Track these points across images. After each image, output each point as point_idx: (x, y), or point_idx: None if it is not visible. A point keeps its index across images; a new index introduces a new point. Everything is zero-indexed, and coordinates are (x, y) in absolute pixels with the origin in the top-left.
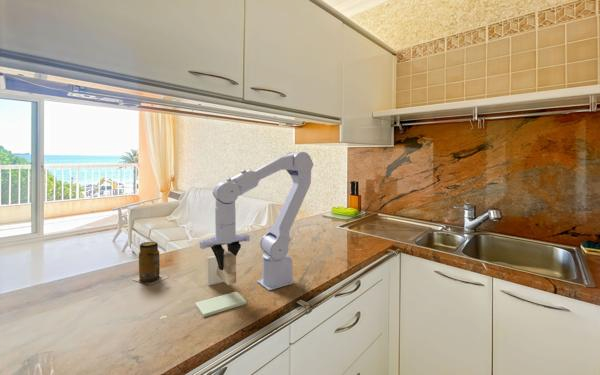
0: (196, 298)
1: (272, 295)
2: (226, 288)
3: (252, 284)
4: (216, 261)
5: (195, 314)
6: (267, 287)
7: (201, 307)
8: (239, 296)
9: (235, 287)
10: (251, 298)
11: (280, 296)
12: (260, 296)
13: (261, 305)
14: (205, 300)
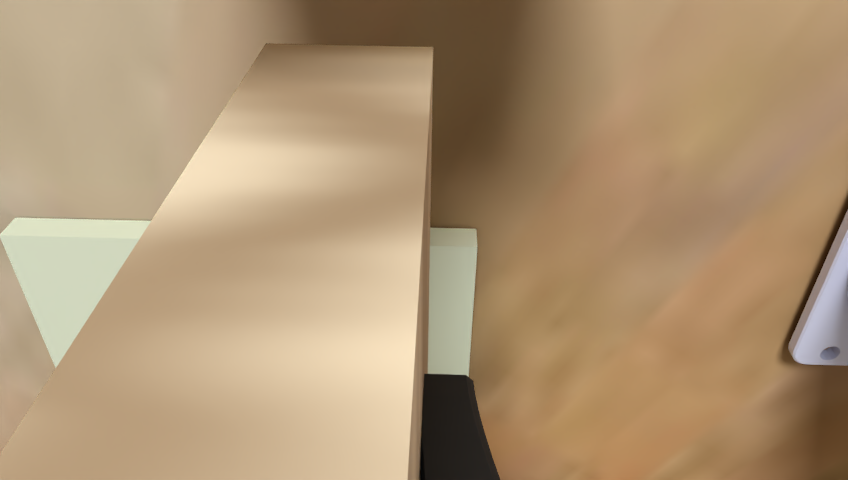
0: (23, 73)
1: (736, 413)
2: (443, 25)
3: (791, 117)
4: (174, 186)
5: (26, 341)
6: (815, 327)
7: (65, 337)
8: (451, 348)
9: (559, 69)
10: (552, 366)
11: (771, 452)
12: (641, 378)
13: (548, 473)
14: (110, 246)
